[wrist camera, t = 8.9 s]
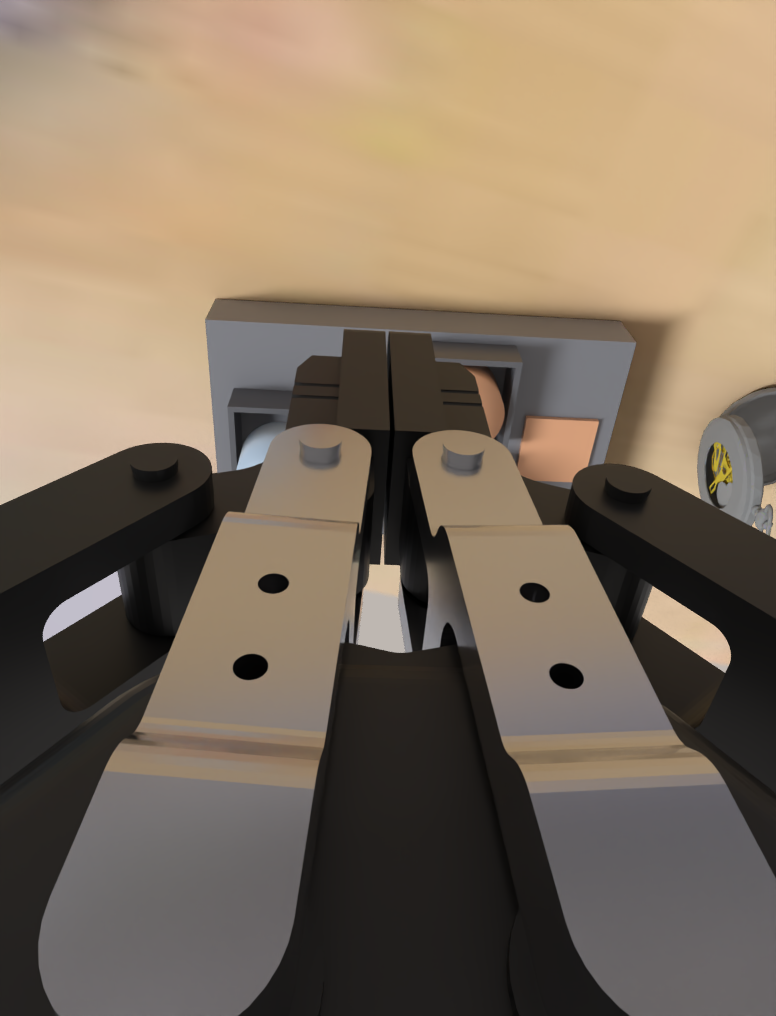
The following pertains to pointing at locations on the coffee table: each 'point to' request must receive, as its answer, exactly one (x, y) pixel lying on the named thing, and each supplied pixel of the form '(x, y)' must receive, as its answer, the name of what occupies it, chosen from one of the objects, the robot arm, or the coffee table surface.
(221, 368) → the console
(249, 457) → the slate button
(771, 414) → the pocket watch
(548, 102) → the coffee table surface
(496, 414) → the terracotta button
